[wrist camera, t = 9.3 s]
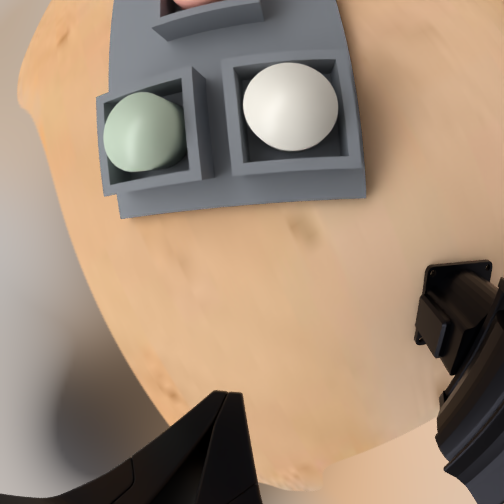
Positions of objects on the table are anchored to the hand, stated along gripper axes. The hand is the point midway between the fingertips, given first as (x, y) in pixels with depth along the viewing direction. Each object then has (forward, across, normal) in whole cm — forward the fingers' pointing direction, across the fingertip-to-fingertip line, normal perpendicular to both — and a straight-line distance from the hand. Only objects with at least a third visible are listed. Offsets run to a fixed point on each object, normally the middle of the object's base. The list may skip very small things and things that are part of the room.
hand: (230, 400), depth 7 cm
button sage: (+10, +6, -9) cm, 15 cm away
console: (+12, +2, -14) cm, 18 cm away
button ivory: (+10, -2, -9) cm, 14 cm away
